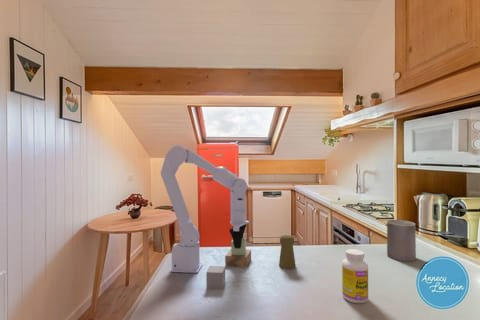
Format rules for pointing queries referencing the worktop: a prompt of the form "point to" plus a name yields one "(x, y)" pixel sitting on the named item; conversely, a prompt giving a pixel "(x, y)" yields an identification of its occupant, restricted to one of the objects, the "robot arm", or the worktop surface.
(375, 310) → the worktop surface
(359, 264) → the supplement bottle
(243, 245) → the green cube
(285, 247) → the cork
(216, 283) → the grey cube
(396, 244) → the pillar candle
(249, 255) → the walnut block
